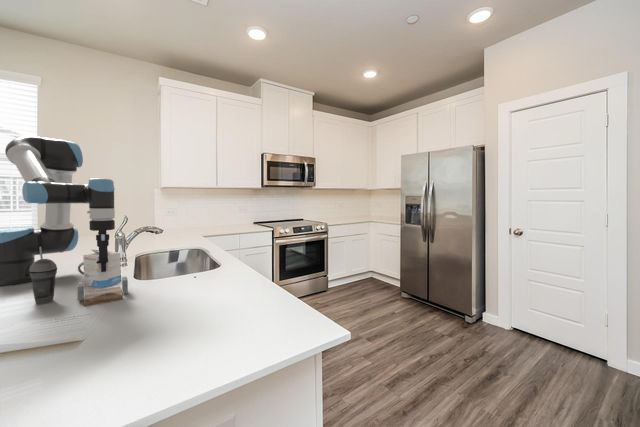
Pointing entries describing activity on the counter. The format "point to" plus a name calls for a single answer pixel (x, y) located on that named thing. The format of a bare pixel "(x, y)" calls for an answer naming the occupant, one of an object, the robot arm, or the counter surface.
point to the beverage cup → (43, 279)
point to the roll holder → (102, 293)
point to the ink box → (93, 269)
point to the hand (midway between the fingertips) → (103, 276)
